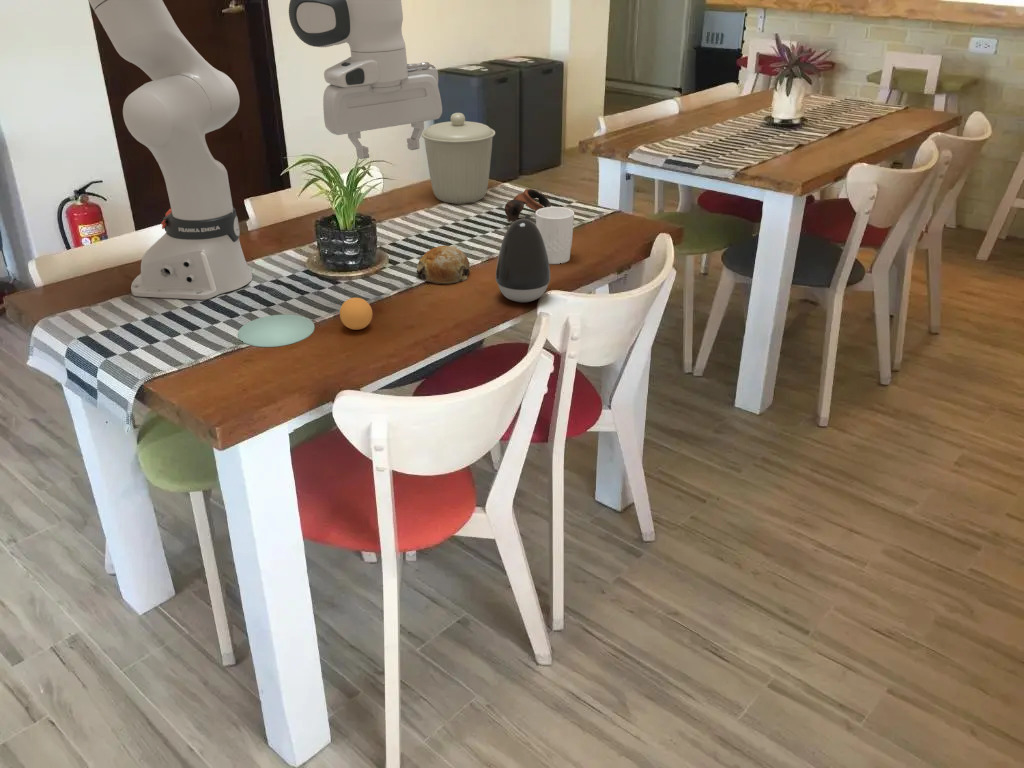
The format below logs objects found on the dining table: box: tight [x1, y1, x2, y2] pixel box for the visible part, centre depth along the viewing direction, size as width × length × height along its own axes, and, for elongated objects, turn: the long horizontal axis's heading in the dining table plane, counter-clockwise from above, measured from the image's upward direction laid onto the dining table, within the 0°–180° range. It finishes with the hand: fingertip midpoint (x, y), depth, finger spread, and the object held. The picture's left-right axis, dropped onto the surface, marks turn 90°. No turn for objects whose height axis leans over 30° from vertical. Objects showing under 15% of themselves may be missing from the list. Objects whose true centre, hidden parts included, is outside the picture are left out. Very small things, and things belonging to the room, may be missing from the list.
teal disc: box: [237, 314, 315, 348], centre depth 153 cm, size 13×13×1 cm
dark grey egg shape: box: [495, 214, 551, 303], centre depth 162 cm, size 10×10×15 cm
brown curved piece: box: [504, 188, 552, 223], centre depth 205 cm, size 12×10×8 cm
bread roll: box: [416, 245, 471, 285], centre depth 175 cm, size 10×10×8 cm
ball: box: [339, 297, 373, 331], centre depth 153 cm, size 6×6×6 cm
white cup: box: [535, 206, 575, 265], centre depth 182 cm, size 8×8×10 cm
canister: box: [421, 112, 496, 205], centre depth 217 cm, size 18×18×21 cm
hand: (388, 153), depth 149 cm, fingers open, 8 cm apart
